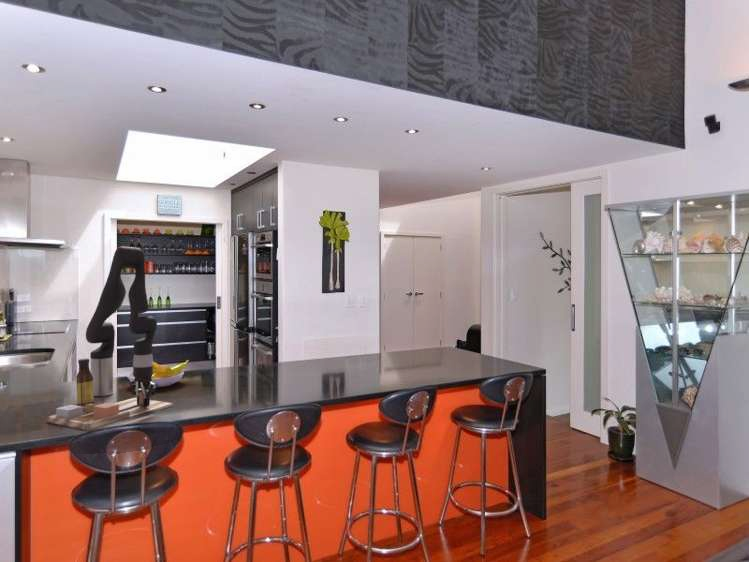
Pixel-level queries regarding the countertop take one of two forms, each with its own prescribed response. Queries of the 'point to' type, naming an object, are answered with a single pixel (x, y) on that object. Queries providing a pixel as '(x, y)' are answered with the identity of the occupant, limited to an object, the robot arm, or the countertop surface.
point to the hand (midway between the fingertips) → (143, 405)
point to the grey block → (73, 411)
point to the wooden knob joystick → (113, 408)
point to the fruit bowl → (165, 374)
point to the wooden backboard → (90, 423)
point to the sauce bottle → (84, 383)
